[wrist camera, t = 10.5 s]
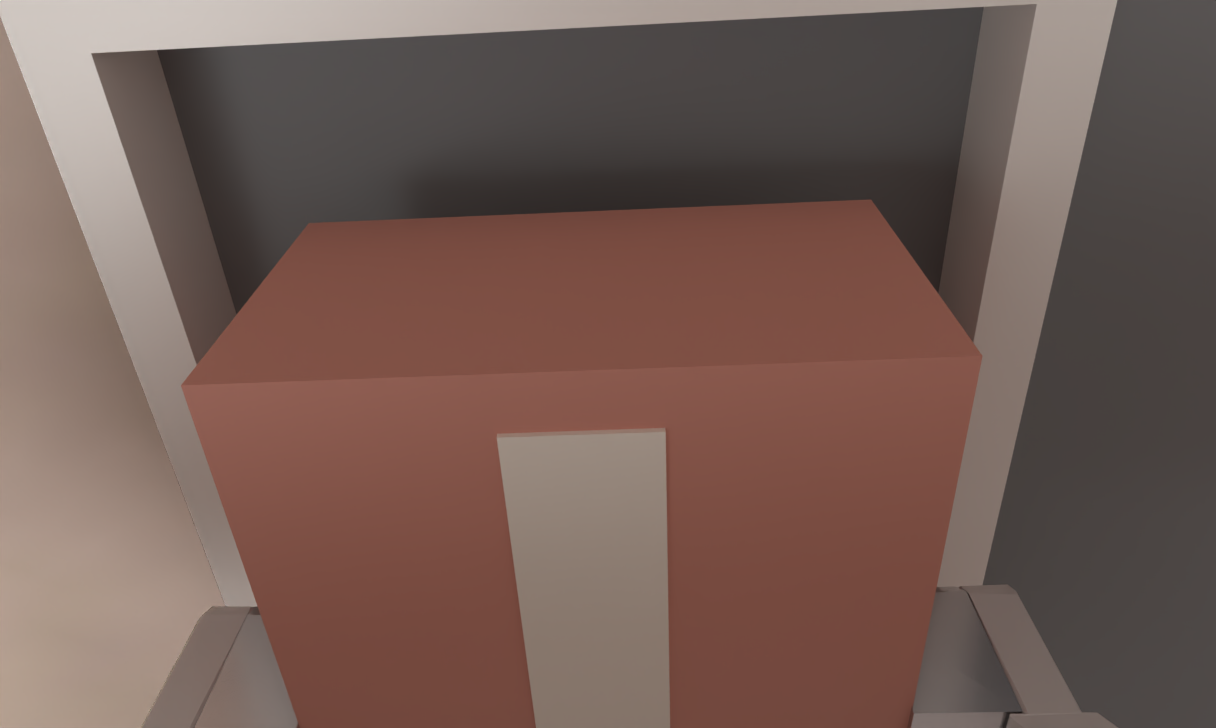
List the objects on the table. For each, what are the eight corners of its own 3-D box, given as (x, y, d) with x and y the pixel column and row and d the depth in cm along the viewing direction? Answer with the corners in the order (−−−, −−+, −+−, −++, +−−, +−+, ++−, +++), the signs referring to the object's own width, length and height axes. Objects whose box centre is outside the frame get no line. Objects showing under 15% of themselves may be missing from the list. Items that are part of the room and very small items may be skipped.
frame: (903, 770, 15) (924, 837, 14) (338, 785, 16) (319, 851, 15) (1074, -99, 8) (1139, -90, 7) (58, -43, 9) (-17, -26, 8)
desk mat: (1507, 840, 17) (1526, 861, 17) (376, 867, 18) (371, 887, 17) (2756, -682, 7) (2871, -709, 6) (-69, -480, 7) (-101, -495, 7)
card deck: (309, 222, 9) (177, 390, 6) (871, 199, 9) (985, 361, 6) (440, 783, 13) (397, 1016, 11) (806, 774, 13) (855, 1008, 11)
